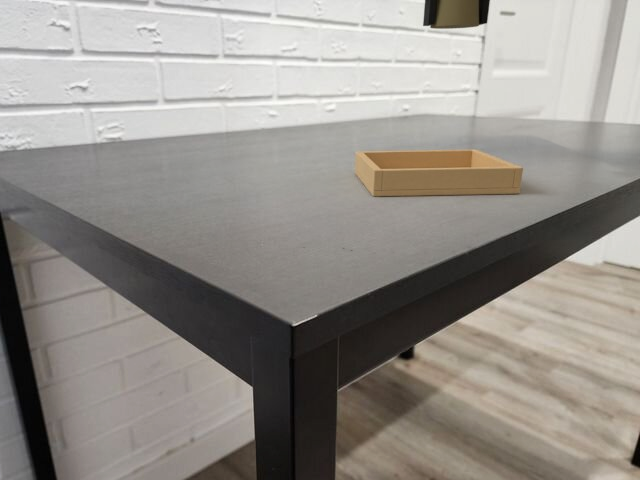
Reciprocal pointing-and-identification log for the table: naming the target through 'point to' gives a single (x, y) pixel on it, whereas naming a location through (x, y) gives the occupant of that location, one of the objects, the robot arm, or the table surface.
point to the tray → (436, 173)
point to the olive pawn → (456, 14)
